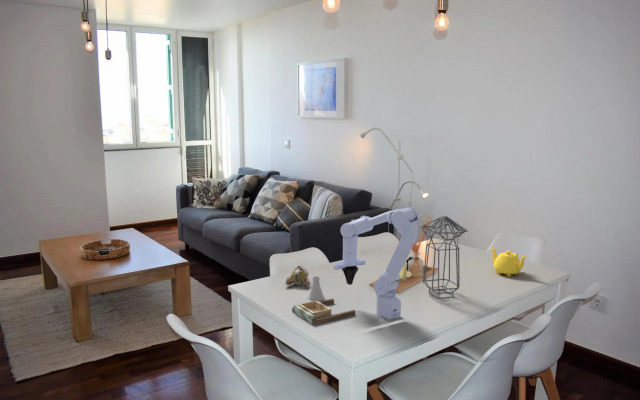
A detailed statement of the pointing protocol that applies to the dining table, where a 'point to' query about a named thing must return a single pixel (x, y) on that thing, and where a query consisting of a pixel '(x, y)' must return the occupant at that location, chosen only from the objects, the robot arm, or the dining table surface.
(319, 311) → the light wooden drawer
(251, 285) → the dining table surface
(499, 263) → the teapot
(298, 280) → the ceramic sculpture
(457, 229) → the geometric lantern
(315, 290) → the flask
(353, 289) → the dining table surface
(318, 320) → the bay
